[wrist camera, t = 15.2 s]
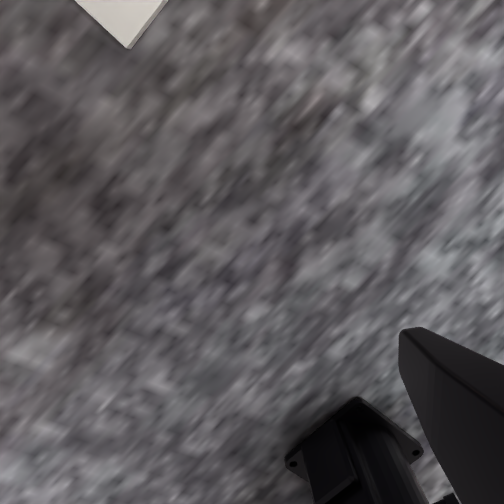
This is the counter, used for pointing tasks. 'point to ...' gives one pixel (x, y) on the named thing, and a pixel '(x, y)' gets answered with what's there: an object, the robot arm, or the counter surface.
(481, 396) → the robot arm
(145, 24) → the board
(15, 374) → the counter surface
